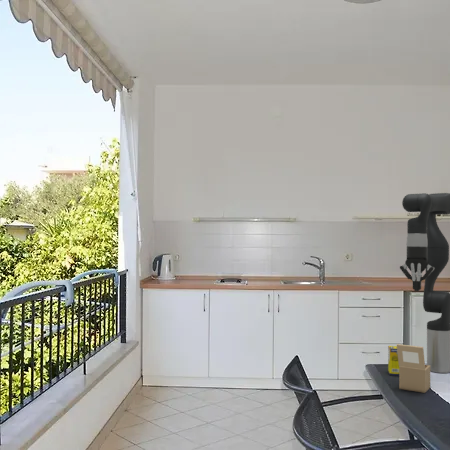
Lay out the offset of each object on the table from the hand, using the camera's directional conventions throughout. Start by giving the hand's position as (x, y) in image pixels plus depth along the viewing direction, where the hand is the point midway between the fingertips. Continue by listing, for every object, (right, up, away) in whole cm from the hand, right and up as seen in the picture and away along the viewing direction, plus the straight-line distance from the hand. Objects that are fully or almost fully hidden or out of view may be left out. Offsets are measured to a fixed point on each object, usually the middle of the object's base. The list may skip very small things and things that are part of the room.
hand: (416, 290), depth 199 cm
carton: (-4, -35, -8) cm, 36 cm away
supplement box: (-4, -36, +13) cm, 38 cm away
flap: (-7, -22, -13) cm, 26 cm away
